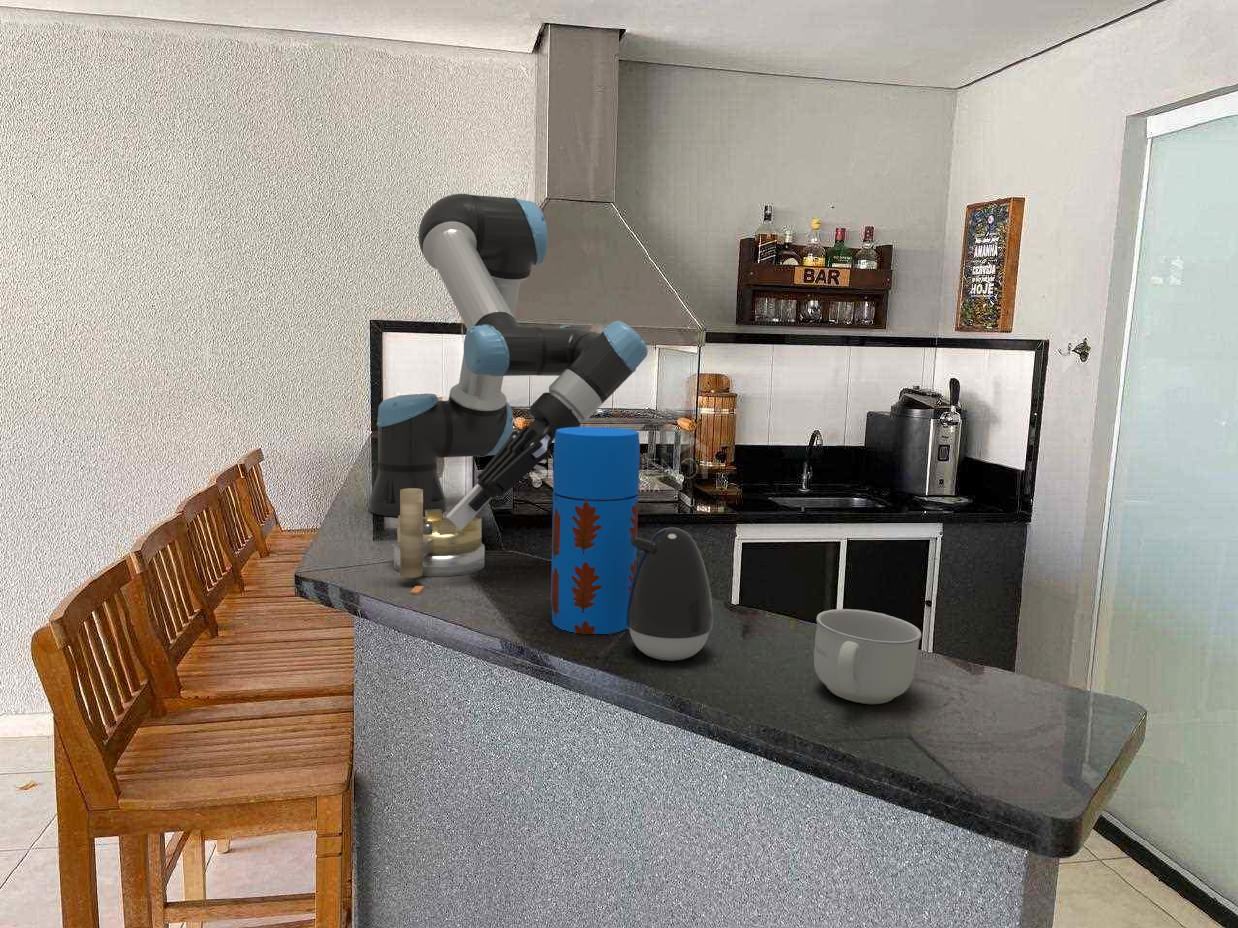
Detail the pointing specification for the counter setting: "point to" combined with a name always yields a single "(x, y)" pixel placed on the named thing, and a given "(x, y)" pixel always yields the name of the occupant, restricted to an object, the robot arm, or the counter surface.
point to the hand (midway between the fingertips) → (453, 523)
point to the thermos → (594, 527)
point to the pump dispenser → (669, 597)
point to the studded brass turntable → (429, 533)
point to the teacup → (865, 654)
